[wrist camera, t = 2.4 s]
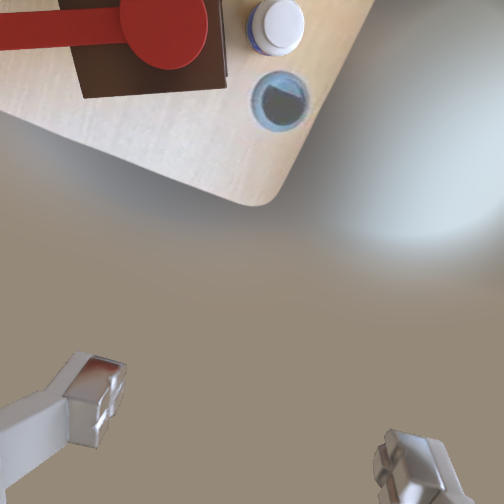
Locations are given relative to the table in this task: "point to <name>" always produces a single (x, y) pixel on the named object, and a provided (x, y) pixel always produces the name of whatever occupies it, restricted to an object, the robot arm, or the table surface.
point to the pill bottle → (275, 27)
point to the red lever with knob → (116, 29)
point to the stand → (139, 72)
